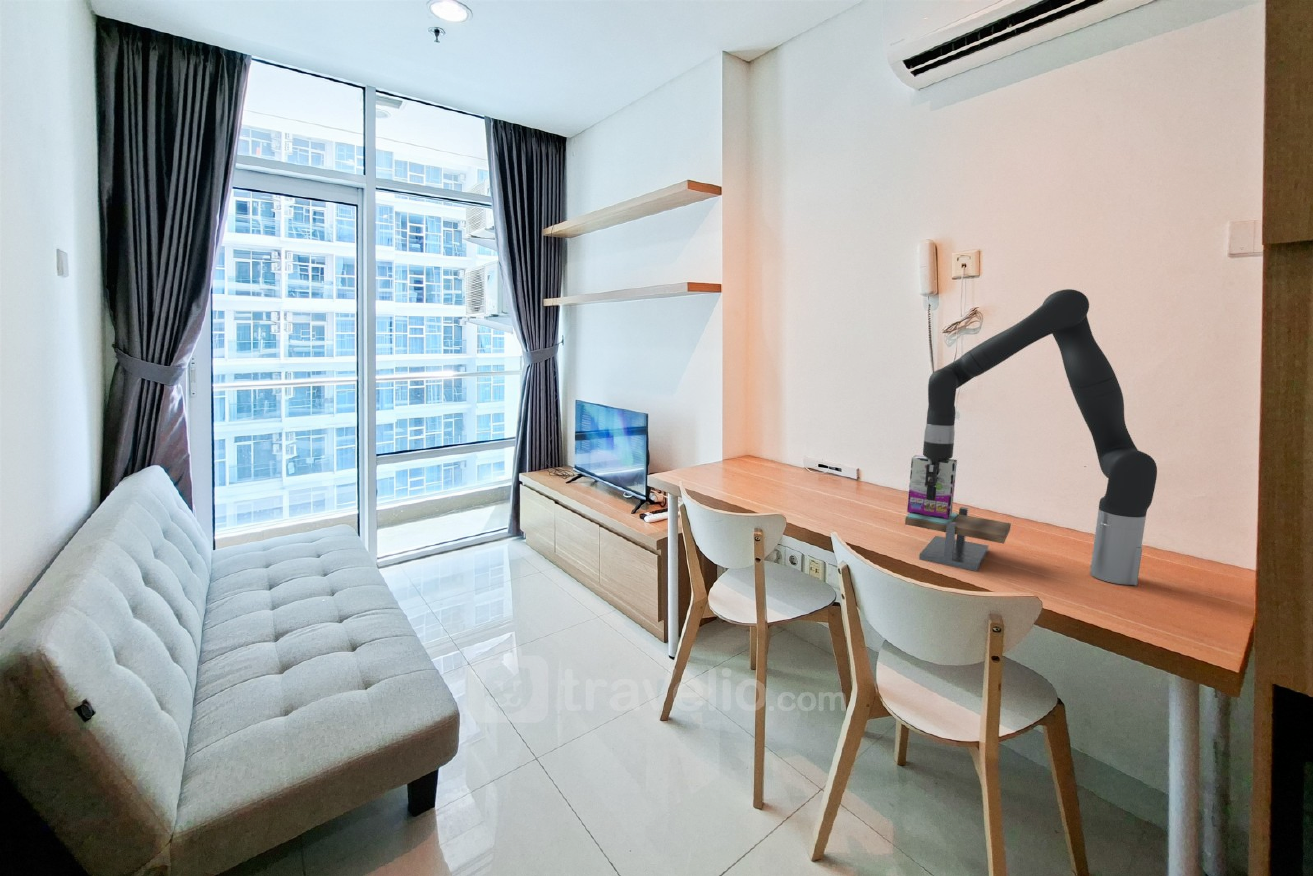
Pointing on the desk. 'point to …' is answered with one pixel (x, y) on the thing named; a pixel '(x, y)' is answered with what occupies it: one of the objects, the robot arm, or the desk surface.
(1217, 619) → the desk surface
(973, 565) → the beam stand
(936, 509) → the candy bar box
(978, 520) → the balance beam
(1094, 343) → the robot arm
